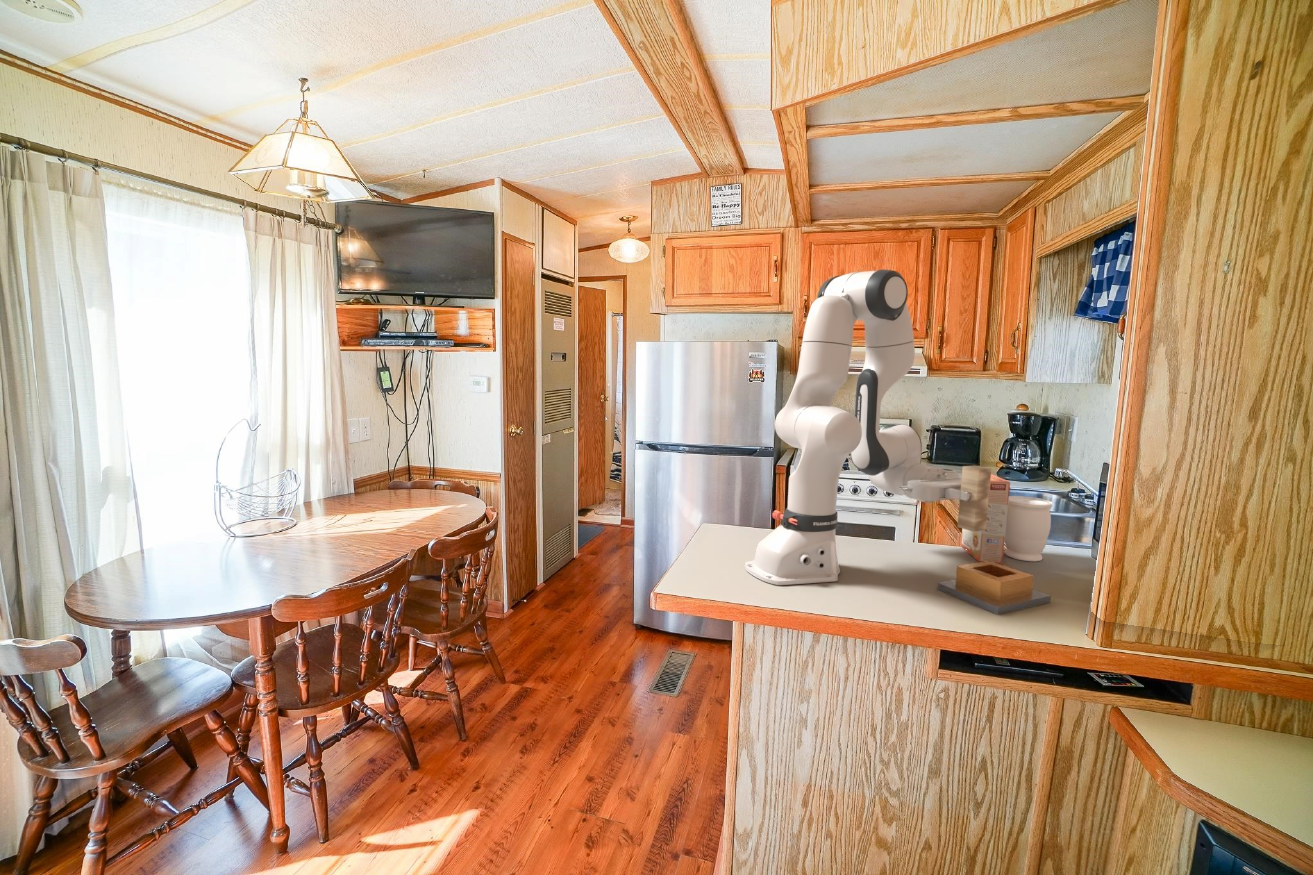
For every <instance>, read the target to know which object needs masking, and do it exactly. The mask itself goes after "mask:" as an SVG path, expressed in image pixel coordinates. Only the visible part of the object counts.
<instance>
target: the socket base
mask: <svg viewBox="0 0 1313 875" xmlns="http://www.w3.org/2000/svg"><path fill="white" fill-rule="evenodd" d="M1034 578H1035V577H1034V575H1033V574H1030V573H1027V572H1023V571H1021V570H1018V569H1015V568H1011V567H1009V566H1006V565H1003V564H1000V563H995V562H992V561H984V562H979V561H977V562H974V563H968V564H962V565H957V566H956V577H955V578H954V579H950V580H946V581H940V582H937V587H936V588H937V589H936V590H938V591H941V592H943V593H946V594H948V595H950V596H952V597H954V598H957V599H959V600H962V601H964V602H966V603H969V604H971V605H973V606H975V607H978V608H981V609H983V610H986V611H988V612H990V613H992V614H995V615H1003V614H1006V613H1011V612H1016V611H1020V610H1024V609H1029V608H1033V606H1034V607H1038V606H1041V604H1042V605H1047V604H1050V603H1051V599H1052V595H1051V594H1047V593H1044V592H1042V591H1038V590H1036V589H1033V588H1034V587H1033V585H1034ZM1046 603H1047V604H1046Z"/></svg>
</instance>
